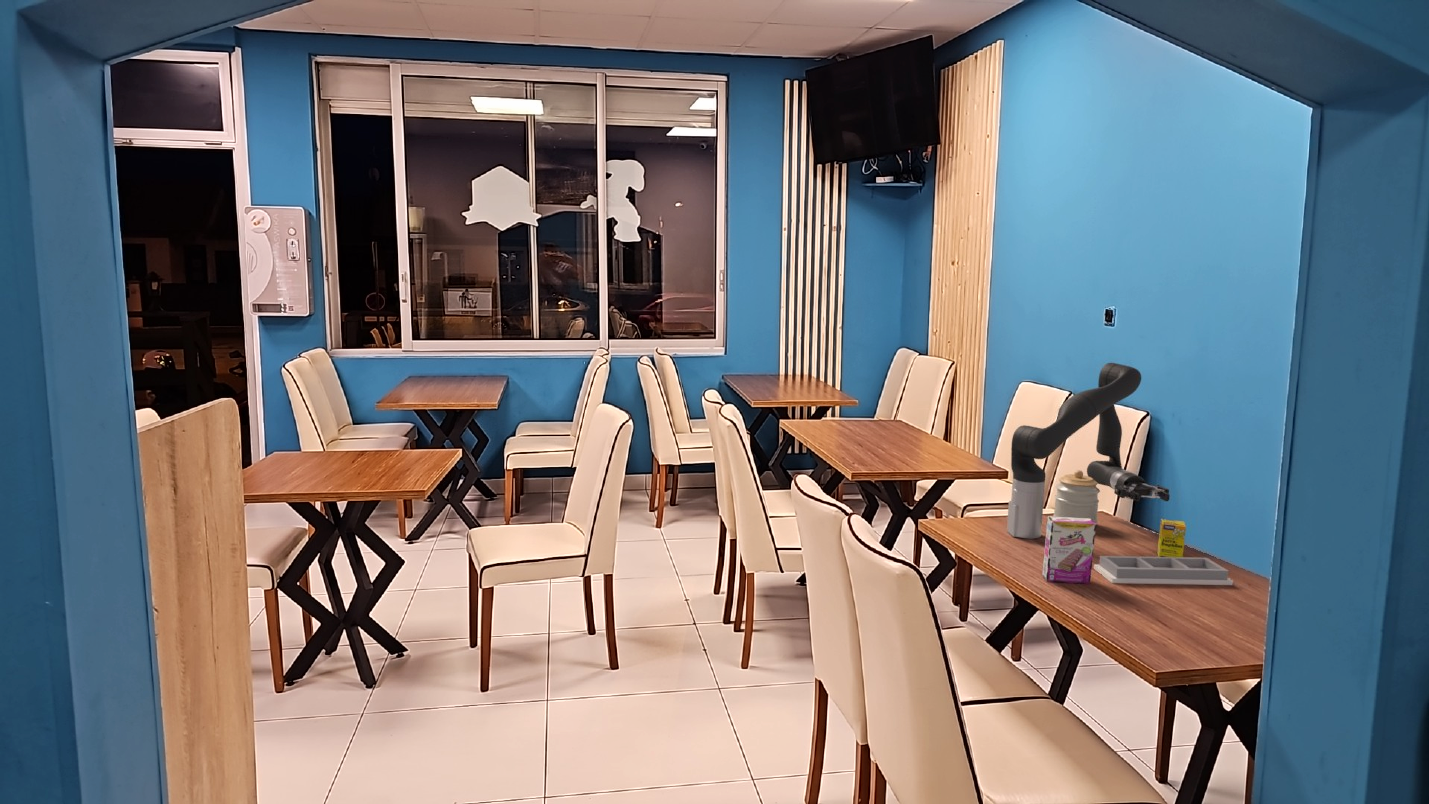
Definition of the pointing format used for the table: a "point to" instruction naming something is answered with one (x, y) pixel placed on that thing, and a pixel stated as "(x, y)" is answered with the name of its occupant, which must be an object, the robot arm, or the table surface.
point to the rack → (1162, 570)
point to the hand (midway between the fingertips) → (1153, 498)
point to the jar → (1077, 497)
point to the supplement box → (1171, 538)
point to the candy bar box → (1069, 549)
